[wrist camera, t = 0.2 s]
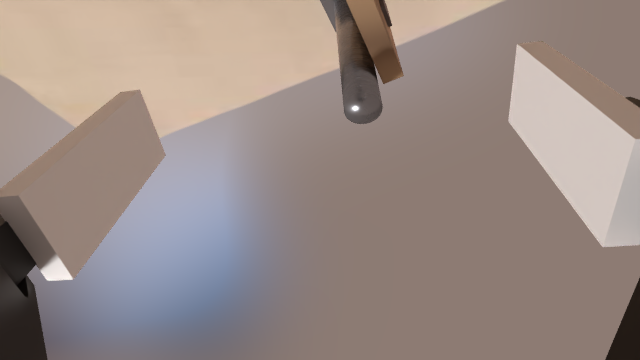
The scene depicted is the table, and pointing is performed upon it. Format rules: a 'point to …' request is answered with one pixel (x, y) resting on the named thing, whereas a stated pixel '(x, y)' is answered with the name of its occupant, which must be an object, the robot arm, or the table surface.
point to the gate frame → (354, 66)
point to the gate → (377, 36)
